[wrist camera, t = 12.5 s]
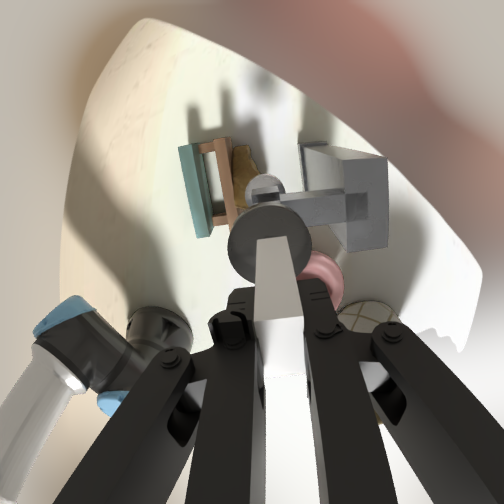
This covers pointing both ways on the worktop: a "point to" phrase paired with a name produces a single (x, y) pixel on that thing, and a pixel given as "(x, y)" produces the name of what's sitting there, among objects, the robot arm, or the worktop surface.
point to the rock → (242, 173)
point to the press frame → (340, 194)
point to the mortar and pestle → (325, 275)
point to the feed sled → (199, 186)
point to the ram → (267, 230)
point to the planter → (366, 319)
